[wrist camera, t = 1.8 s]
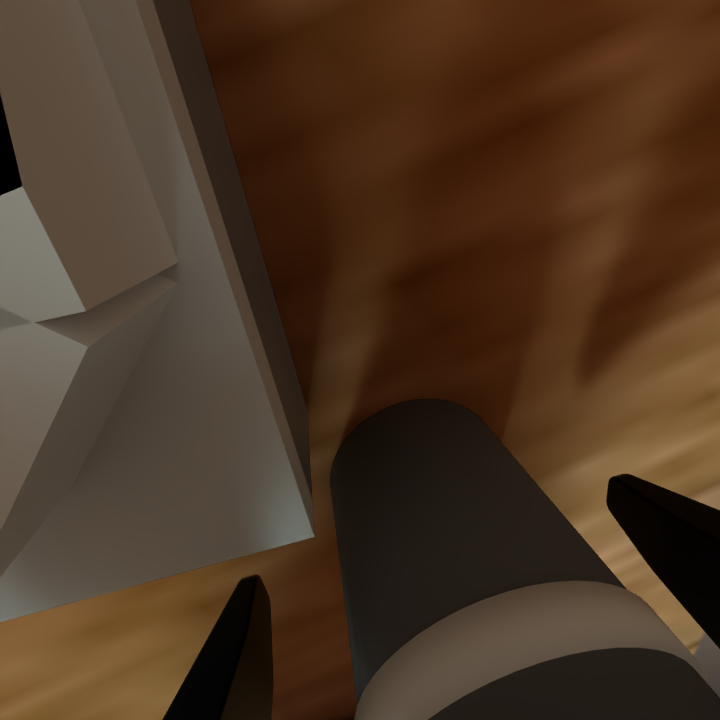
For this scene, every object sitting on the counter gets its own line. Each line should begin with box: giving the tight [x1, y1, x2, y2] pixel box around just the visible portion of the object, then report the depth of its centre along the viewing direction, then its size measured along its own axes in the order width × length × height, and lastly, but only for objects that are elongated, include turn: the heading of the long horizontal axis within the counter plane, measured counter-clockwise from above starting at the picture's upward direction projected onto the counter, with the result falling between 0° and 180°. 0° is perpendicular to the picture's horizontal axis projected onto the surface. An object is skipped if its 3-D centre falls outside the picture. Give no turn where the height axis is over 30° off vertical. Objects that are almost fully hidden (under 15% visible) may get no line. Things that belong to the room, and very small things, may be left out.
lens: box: [330, 399, 720, 720], centre depth 8 cm, size 5×5×7 cm
